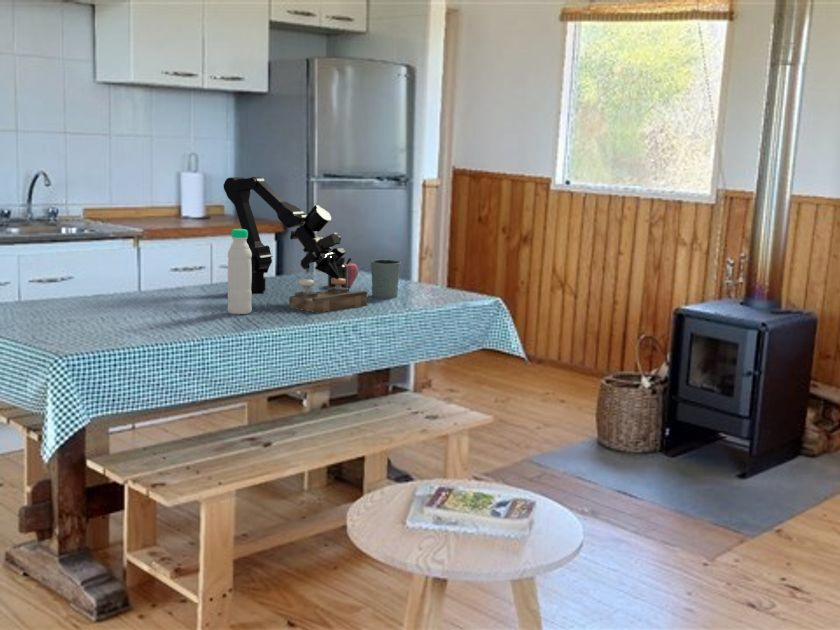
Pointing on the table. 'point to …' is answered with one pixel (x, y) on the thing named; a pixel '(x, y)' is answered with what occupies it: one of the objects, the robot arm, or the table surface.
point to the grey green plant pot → (385, 278)
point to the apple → (351, 272)
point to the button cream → (306, 285)
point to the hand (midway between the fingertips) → (338, 278)
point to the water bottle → (239, 274)
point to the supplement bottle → (340, 273)
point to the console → (328, 300)
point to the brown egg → (338, 282)
